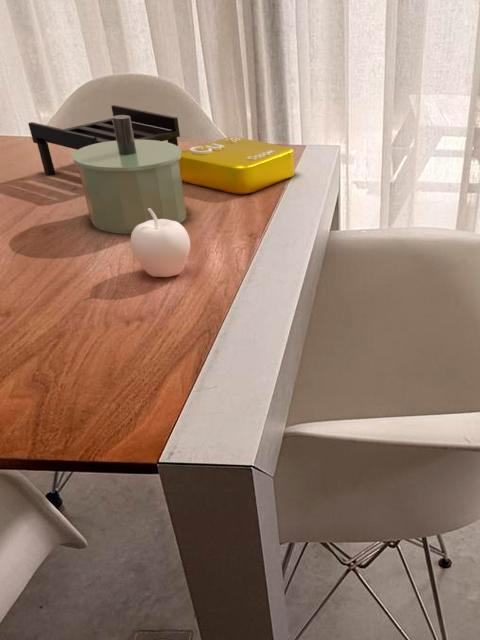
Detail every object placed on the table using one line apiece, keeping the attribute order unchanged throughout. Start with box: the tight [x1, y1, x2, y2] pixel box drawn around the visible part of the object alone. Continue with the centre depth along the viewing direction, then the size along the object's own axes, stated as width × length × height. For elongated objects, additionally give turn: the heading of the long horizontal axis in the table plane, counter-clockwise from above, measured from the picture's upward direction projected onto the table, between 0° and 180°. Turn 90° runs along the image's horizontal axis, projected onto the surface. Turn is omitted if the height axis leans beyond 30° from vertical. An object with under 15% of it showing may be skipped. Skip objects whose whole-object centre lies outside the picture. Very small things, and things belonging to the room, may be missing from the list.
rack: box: [27, 104, 181, 176], centre depth 117 cm, size 18×16×8 cm
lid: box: [71, 115, 183, 171], centre depth 95 cm, size 15×15×6 cm
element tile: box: [179, 136, 295, 195], centre depth 116 cm, size 15×15×5 cm
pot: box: [77, 160, 188, 235], centre depth 99 cm, size 14×14×8 cm
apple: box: [129, 208, 191, 278], centre depth 84 cm, size 7×7×8 cm
